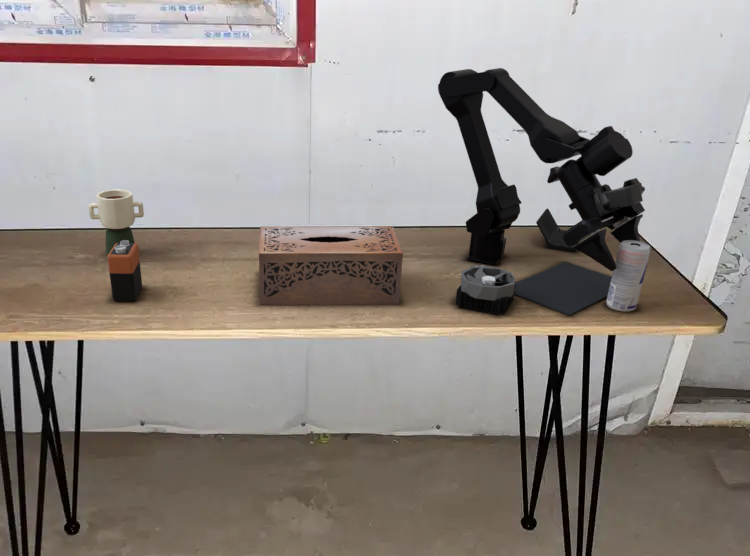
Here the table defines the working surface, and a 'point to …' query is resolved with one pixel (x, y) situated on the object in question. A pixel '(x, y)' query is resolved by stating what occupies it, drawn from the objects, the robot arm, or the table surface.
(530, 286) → the mouse pad
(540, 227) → the handheld gaming console
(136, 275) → the battery
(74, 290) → the table surface
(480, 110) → the robot arm
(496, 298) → the cpu cooler
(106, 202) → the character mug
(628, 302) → the energy drink
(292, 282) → the tissue box cover
